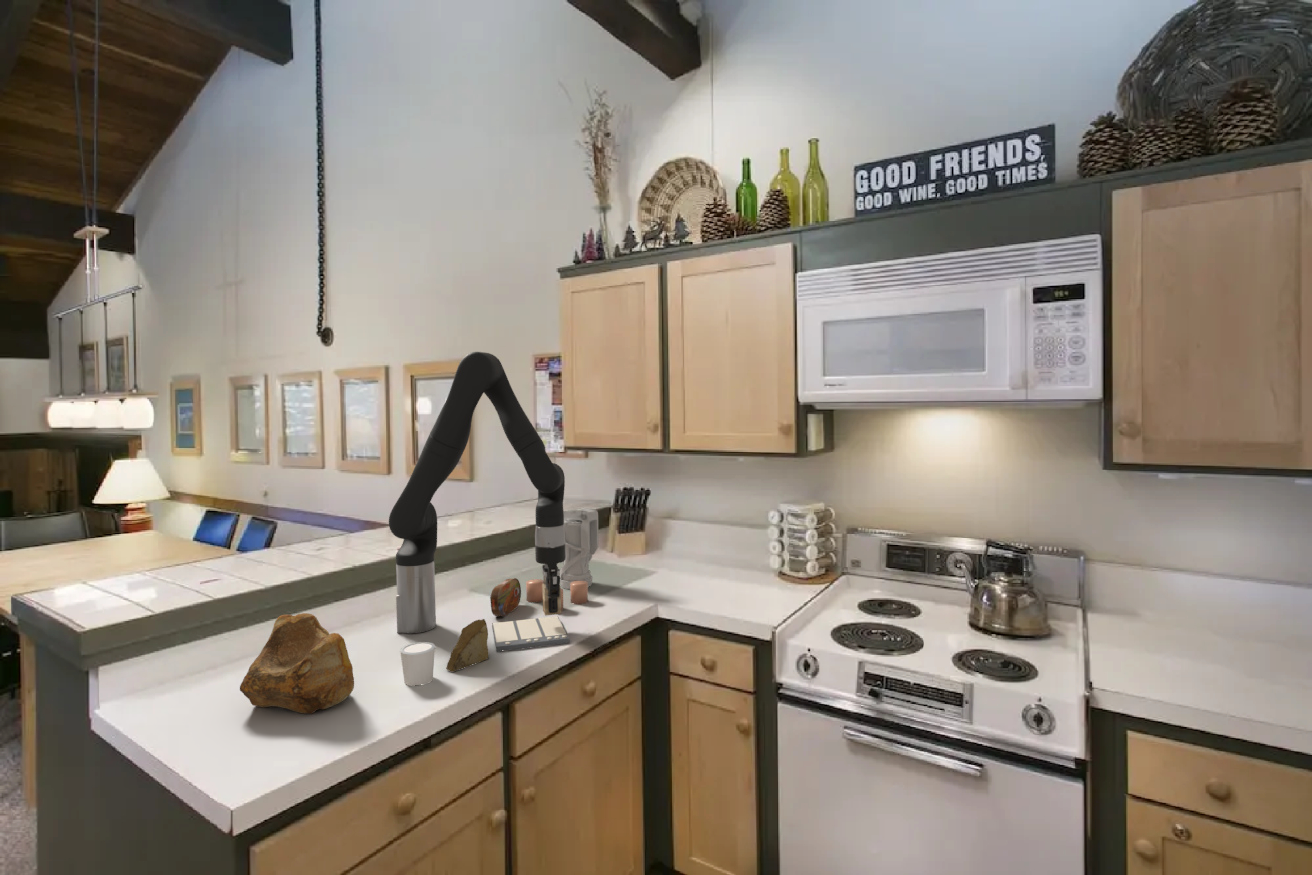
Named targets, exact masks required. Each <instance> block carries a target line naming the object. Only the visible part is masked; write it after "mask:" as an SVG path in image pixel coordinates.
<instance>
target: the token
mask: <svg viewBox="0 0 1312 875" xmlns="http://www.w3.org/2000/svg"><path fill="white" fill-rule="evenodd" d="M548 585H549V584H548ZM542 589H543V601H542V611H543V614H544V616H553V615H554V616H556V615H562V611H561V589H562V587H561V585H560V592H559V593H560V596H559V597H558V611H557V612H556V613H549V606H548V589H546V587H545V584H542ZM554 592H556V590H552V593H554Z"/></svg>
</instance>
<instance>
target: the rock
mask: <svg viewBox="0 0 1312 875" xmlns="http://www.w3.org/2000/svg"><path fill="white" fill-rule="evenodd" d="M488 639H489V631H488V625H487V622H486V619H485V618H482V619H477V620H473V621H472V622H470V623H469V624H467V625H466V626H464V627H463V628H462V629H461V632H460V636H459V638H458V640H457V642H456V645H455V647H453V649H452V651H451V653H450V657H449V659H448V661H447V664H446V668H445V669H446V670H447V671H449V672H451V673H453V672H456V671H457V672H458V671H460V670H462V668H463V669H465V668H464V667H466V668H468V667H470V665H471V666H473V665H472V664H474V665H476V664H475V663H477V664H479V663H481V662H483V661H486V660H488V659H489V648H488ZM459 669H460V670H459Z"/></svg>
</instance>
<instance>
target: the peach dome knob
mask: <svg viewBox="0 0 1312 875" xmlns="http://www.w3.org/2000/svg"><path fill="white" fill-rule="evenodd" d="M563 611H564V588H561V612H563Z"/></svg>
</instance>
